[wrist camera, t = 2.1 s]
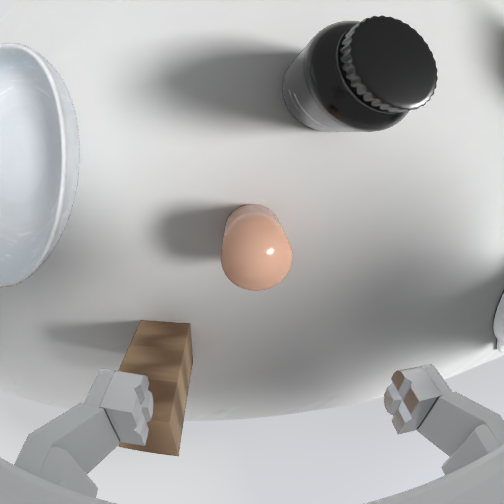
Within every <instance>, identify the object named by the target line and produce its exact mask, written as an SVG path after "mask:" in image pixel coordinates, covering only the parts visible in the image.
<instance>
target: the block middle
mask: <svg viewBox="0 0 504 504" xmlns="http://www.w3.org/2000/svg"><path fill="white" fill-rule="evenodd" d="M119 371H121V372H126V373H133V374H139V375H145V376H147V377H148V379H152V380H161V381H171V382H177V383H178V390H179V396H180V402H181V407H182V413H183V418H184V414H185V408H186V401H187V395H188V388H189V387H188V379H187V370H186V361H185V352H184V350H183V349H170V348H159V347H148V346H139V345H130V346H129V348H128V350H127V352H126V355H125V357H124V359H123V361H122V364H121V366H120V368H119Z"/></svg>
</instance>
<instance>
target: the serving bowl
mask: <svg viewBox="0 0 504 504" xmlns="http://www.w3.org/2000/svg"><path fill="white" fill-rule="evenodd" d="M79 163H80V140H79V129H78V122H77V117H76V112H75V108H74V104H73V101H72V98H71V96H70V93H69V91H68V88H67V86H66V84H65V82H64V80H63V79H62V77H61V76H60V74H59V73H58V71H57V70H56V69H55V68H54V66H53V65H52V64H51V63H50V62H49V61H48V60H47V59H46V58H44V57H43V56H42V55H41V54H39V53H37V52H36V51H34V50H33V49H31V48H29V47H27V46H25V45H22V44H17V43H3V44H0V287H6V286H12V285H15V284H18V283H21V282H22V281H24V280H26V279H27V278H28V277H30V276H31V275H32V274H33V273H34V272H35V271H36V270H37V269H38V268H39V267H40V265H41V264H42V263H43V262H44V261H45V259H46V258H47V257H48V256H49V254H50V253H51V251H52V250H53V248H54V247H55V245H56V244H57V242H58V240H59V238H60V236H61V234H62V232H63V230H64V228H65V226H66V223H67V221H68V218H69V215H70V212H71V209H72V206H73V202H74V198H75V193H76V188H77V183H78V175H79Z"/></svg>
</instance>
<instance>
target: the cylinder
mask: <svg viewBox="0 0 504 504" xmlns="http://www.w3.org/2000/svg"><path fill="white" fill-rule="evenodd" d="M221 264H222V268H223V270H224V272H225V274H226V276H227V277H228V278H229V279H230V281H232V282H233V283H234V284H235V285H237V286H239V287H241V288H244V289H247V290H254V291H258V290H265V289H268V288H271V287H273V286H275V285H277V284H278V283H279V282H281V281H282V280H283V279H284V278H285V276H286V275H287V273H288V272H289V270H290V267H291V264H292V249H291V246H290V244H289V241H288V239H287V237H286V235H285V233H284V231H283V229H282V227H281V225H280V223H279V221H278V219H277V217H276V216H275V214H274V213H273V212H272V211H271V210H269V209H268V208H266V207H264V206H262V205H257V204H248V205H244V206H241V207H239V208H238V209H236V210H235V211H234V212H233V213H232V214H231V215H230V216H229V218H228V219H227V222H226V225H225V231H224V238H223V245H222V252H221Z"/></svg>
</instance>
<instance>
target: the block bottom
mask: <svg viewBox="0 0 504 504" xmlns="http://www.w3.org/2000/svg"><path fill="white" fill-rule="evenodd" d="M130 345H139V346H148V347H159V348H170V349H183V350H184V352H185V361H186V370H187V379H188V387H189V382H190V376H191V370H192V364H193V356H192V343H191V329H190V324H189V323H173V322H159V321H147V320H141V322H140V324H139V326H138V328H137V330H136V332H135V335H134V337H133V339H132V341H131V343H130Z"/></svg>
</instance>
